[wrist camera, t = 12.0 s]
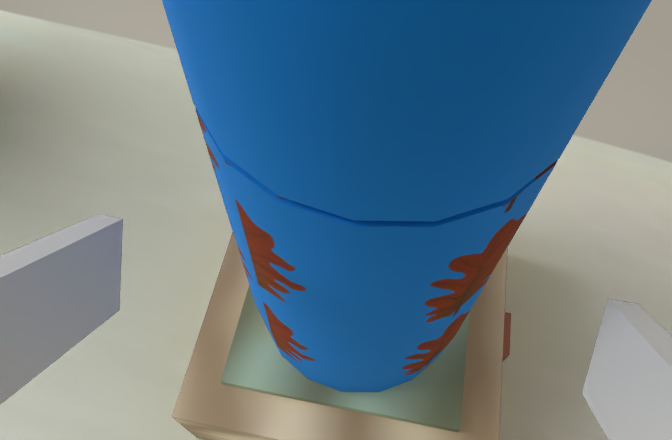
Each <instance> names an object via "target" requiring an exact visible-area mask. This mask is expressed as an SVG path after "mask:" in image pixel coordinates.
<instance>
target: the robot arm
mask: <svg viewBox="0 0 672 440" xmlns="http://www.w3.org/2000/svg"><path fill="white" fill-rule="evenodd" d="M122 229H123V219H121V218H115V217H109V216H103V215H94V216H92V217H90V218H87V219H85V220H83V221H80V222H78V223H76V224H73V225H71V226H69V227H66V228H64V229H62V230H59V231H57V232H55V233H52V234H50V235H48V236H45V237H43V238H41V239H38V240H36V241H34V242H31V243H29V244H27V245H24V246H22V247H20V248H17V249H15V250H13V251H10V252H8V253H6V254H3V255H1V256H0V405H1V404H2V403H3V402H4V401H6V400H7V399H8V398H9V397H11V396H12V395H13V394H14V393H16V392H17V391H18V390H19V389H21V388H22V387H23V386H24V385H26V384H27V383H28V382H29V381H31V380H32V379H33V378H35V377H36V376H37V375H38V374H40V373H41V372H42V371H43V370H45V369H46V368H47V367H48V366H50V365H51V364H52V363H53V362H55V361H56V360H57V359H58V358H60V357H61V356H62V355H63V354H65V353H66V352H67V351H69V350H70V349H71V348H72V347H74V346H75V345H76V344H77V343H79V342H80V341H81V340H82V339H84V338H85V337H86V336H87V335H89V334H90V333H91V332H92V331H94V330H95V329H96V328H97V327H99V326H100V325H101V324H103V323H104V322H105V321H106V320H108V319H109V318H110V317H111V316H113V315H114V314H115V313H116V312H118V311H119V309H120V282H121V256H122ZM582 394H583V396H584V398H585V399H586V401H587V403H588V405H589V407H590V408H591V410H592V412H593V414H594V416H595V417H596V419H597V421H598V423H599V424H600V426H601V428H602V430H603V432H604V433H605V435H606V437H607V439H608V440H672V336H671V335H670V334H669V333H668V332H667V331H666V330H665V329H664V328H663V327H662V326H661V325H660V324H659V323H658V322H657V321H656V320H655V319H654V318H653V317H652V316H651V315H649V314H648V313H647V312H646V311H645V310H644V309H643V308H642V307H641V306H640V305H639V304H636V303H630V302H624V301H618V300H612V299H608V300H607V304H606V307H605V311H604V315H603V318H602V322H601V326H600V329H599V333H598V336H597V340H596V344H595V347H594V351H593V355H592V358H591V362H590V366H589V369H588V373H587V377H586V380H585V384H584V388H583V391H582Z"/></svg>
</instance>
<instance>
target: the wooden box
mask: <svg viewBox="0 0 672 440" xmlns="http://www.w3.org/2000/svg"><path fill="white" fill-rule="evenodd" d="M507 249H508V247H507V248H506V250H505V252H504V253H503V255H502V257H501V259H500V260H499V262H498V264H497V265H496V267H495V269H494V271H493V272H492V274H491V276H490V277H489V279H488V281H487V282H486V284H485V286H484V288H483V289H482V291H481V293H480V294H479V296H478V298H477V300H476V301H475V303H474V305H473V306H472V308H471V310H470V312H469V313H468V315H467V317H466V318H465V320H464V322H463V324H462V325H461V327H460V329H459V330H458V332H457V334H456V335H455V337H454V338H453V339H452V340H451V342H450V343H449V344H448V345H447V347H446V348H445V349H444V350H443V352H442V353H441V354H440V355H439V356H438V358H437V359H435V360H434V361H433V362H432V363H431V364H430V365H429V366H427V367H426V368H425V369H424V370H423V371H422V372H421V373H419V374H418V375H417V376H416V377H415V378H414V379H413V380H411V381H408V382H405V383H403V384H400V385H397V386H394V387H392V388H389V389H386V390H383V391H381V392H341V391H338V390H336V389H333V388H330V387H328V386H325V385H322V384H320V383H317V382H315V381H312V380H309V379H308V378H306V377H305V376H304V375H303V374H302V373H301V372H300V371H298V370H297V369H296V368H295V367H294V366H293V365H292V364H290V363H289V362H288V361H287V360H286V359H285V358H284V357H283V356H282V355H281V353H280V351H279V350H278V348H277V346H276V344H275V342H274V340H273V338H272V336H271V334H270V332H269V331H268V329H267V327H266V325H265V322H264V320H263V318H262V316H261V314H260V312H259V310H258V308H257V305H256V303H255V301H254V299H253V295H252V292H251V289H250V286H249V282H248V279H247V276H246V272H245V269H244V266H243V263H242V259H241V256H240V253H239V250H238V246H237V243H236V240H235V237H234V233H232V236H231V239H230V242H229V245H228V248H227V251H226V254H225V257H224V260H223V263H222V266H221V269H220V272H219V275H218V278H217V281H216V284H215V287H214V290H213V293H212V297H211V300H210V303H209V306H208V309H207V312H206V315H205V318H204V321H203V324H202V327H201V330H200V333H199V336H198V339H197V342H196V345H195V348H194V351H193V354H192V357H191V360H190V363H189V366H188V369H187V372H186V375H185V378H184V381H183V384H182V387H181V391H180V394H179V397H178V400H177V403H176V406H175V409H174V412H173V415H172V417H173V418H174V419H175V420H176V421H178V422H179V423H180V424H181V425H182V426H183V427H185V428H186V429H187V430H188V431H189V432H191V433H192V434H193V435H194V436H195V437H197V438H201V439H206V440H499V423H500V401H501V379H502V362H503V361H504V360H505V358H506V357H507V356H508V355H509V348H510V323H511V313H505V292H506V270H507Z"/></svg>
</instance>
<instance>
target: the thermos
mask: <svg viewBox="0 0 672 440" xmlns="http://www.w3.org/2000/svg"><path fill="white" fill-rule="evenodd" d="M162 1H163V5H164V8H165V11H166V15H167V18H168V21H169V24H170V28H171V31H172V34H173V37H174V41H175V44H176V47H177V51H178V54H179V57H180V60H181V64H182V67H183V70H184V73H185V77H186V80H187V83H188V86H189V90H190V93H191V96H192V99H193V103H194V105H195V107H196V113H197V116H198V119H199V122H200V126H201V129H202V132H203V135H204V139H205V142H206V145H207V148H208V152H209V155H210V158H211V162H212V165H213V168H214V171H215V175H216V178H217V181H218V184H219V188H220V191H221V194H222V197H223V201H224V204H225V207H226V210H227V214H228V217H229V220H230V224H231V227H232V230H233V233H234V237H235V240H236V243H237V246H238V250H239V253H240V256H241V259H242V263H243V266H244V269H245V272H246V276H247V279H248V282H249V286H250V289H251V292H252V295H253V299H254V301H255V303H256V305H257V308H258V310H259V312H260V314H261V316H262V318H263V320H264V322H265V325H266V327H267V329H268V331H269V332H270V334H271V336H272V338H273V340H274V342H275V344H276V346H277V348H278V350H279V351H280V353H281V355H282V356H283V357H284V358H285V359H286V360H287V361H288V362H289V363H290V364H292V365H293V366H294V367H295V368H296V369H297V370H298V371H300V372H301V373H302V374H303V375H304V376H305V377H306V378H308V379H309V380H312V381H315V382H317V383H320V384H322V385H325V386H328V387H330V388H333V389H336V390H338V391H341V392H381V391H383V390H386V389H389V388H392V387H394V386H397V385H400V384H403V383H405V382H408V381H411V380H413V379H414V378H415V377H416V376H417V375H418V374H419V373H421V372H422V371H423V370H424V369H425V368H426V367H427V366H429V365H430V364H431V363H432V362H433V361H434V360H435V359H437V358H438V356H439V355H440V354H441V353H442V352H443V350H444V349H445V348H446V347H447V345H448V344H449V343H450V342H451V340H452V339H453V338H454V337H455V335H456V334H457V332H458V330H459V329H460V327H461V325H462V324H463V322H464V320H465V318H466V317H467V315H468V313H469V312H470V310H471V308H472V306H473V305H474V303H475V301H476V300H477V298H478V296H479V294H480V293H481V291H482V289H483V288H484V286H485V284H486V282H487V281H488V279H489V277H490V276H491V274H492V272H493V271H494V269H495V267H496V265H497V264H498V262H499V260H500V259H501V257H502V255H503V253H504V252H505V250H506V248H507V247H508V245H509V243H510V241H511V240H512V238H513V236H514V235H515V233H516V231H517V229H518V228H519V226H520V224H521V223H522V221H523V219H524V218H525V216H526V214H527V212H528V211H529V209H530V207H531V206H532V204H533V202H534V200H535V199H536V197H537V195H538V194H539V192H540V190H541V188H542V187H543V185H544V183H545V182H546V180H547V178H548V176H549V175H550V173H551V171H552V170H553V168H554V166H555V164H556V162H557V160H558V159H559V158H560V156H561V154H562V153H563V151H564V149H565V147H566V146H567V144H568V142H569V141H570V139H571V137H572V135H573V134H574V132H575V130H576V129H577V127H578V125H579V123H580V122H581V120H582V118H583V117H584V115H585V113H586V111H587V110H588V108H589V106H590V105H591V103H592V101H593V100H594V98H595V96H596V94H597V93H598V91H599V89H600V88H601V86H602V84H603V82H604V81H605V79H606V77H607V76H608V74H609V72H610V70H611V69H612V67H613V65H614V64H615V62H616V60H617V58H618V57H619V55H620V53H621V51H622V50H623V48H624V46H625V45H626V43H627V41H628V40H629V38H630V36H631V35H632V33H633V31H634V29H635V28H636V26H637V24H638V23H639V21H640V19H641V17H642V16H643V14H644V12H645V11H646V9H647V7H648V6H649V4H650V2H651V0H162Z"/></svg>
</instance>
